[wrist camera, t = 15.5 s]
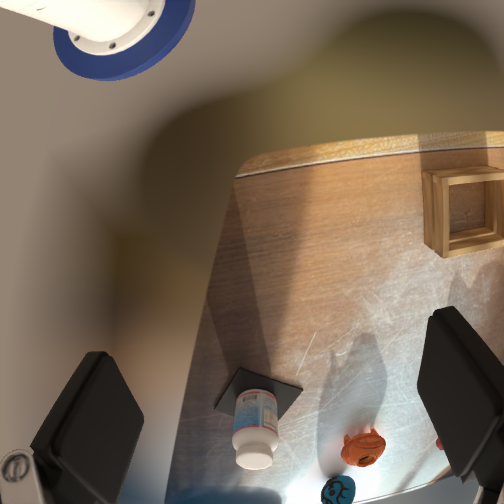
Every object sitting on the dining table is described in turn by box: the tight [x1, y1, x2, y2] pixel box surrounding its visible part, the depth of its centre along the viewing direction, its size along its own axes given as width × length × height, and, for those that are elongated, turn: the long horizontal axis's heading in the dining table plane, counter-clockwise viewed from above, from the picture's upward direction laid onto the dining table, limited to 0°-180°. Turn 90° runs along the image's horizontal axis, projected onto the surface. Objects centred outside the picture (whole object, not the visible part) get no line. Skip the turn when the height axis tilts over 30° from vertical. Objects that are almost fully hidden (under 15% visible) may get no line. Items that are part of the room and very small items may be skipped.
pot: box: [341, 428, 386, 467], centre depth 45 cm, size 8×8×7 cm
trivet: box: [214, 368, 303, 421], centre depth 45 cm, size 10×10×1 cm
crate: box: [422, 166, 504, 259], centre depth 31 cm, size 11×9×5 cm
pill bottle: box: [232, 389, 278, 470], centre depth 39 cm, size 6×6×11 cm
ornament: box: [321, 475, 356, 504], centre depth 49 cm, size 8×5×10 cm, turn 139°
